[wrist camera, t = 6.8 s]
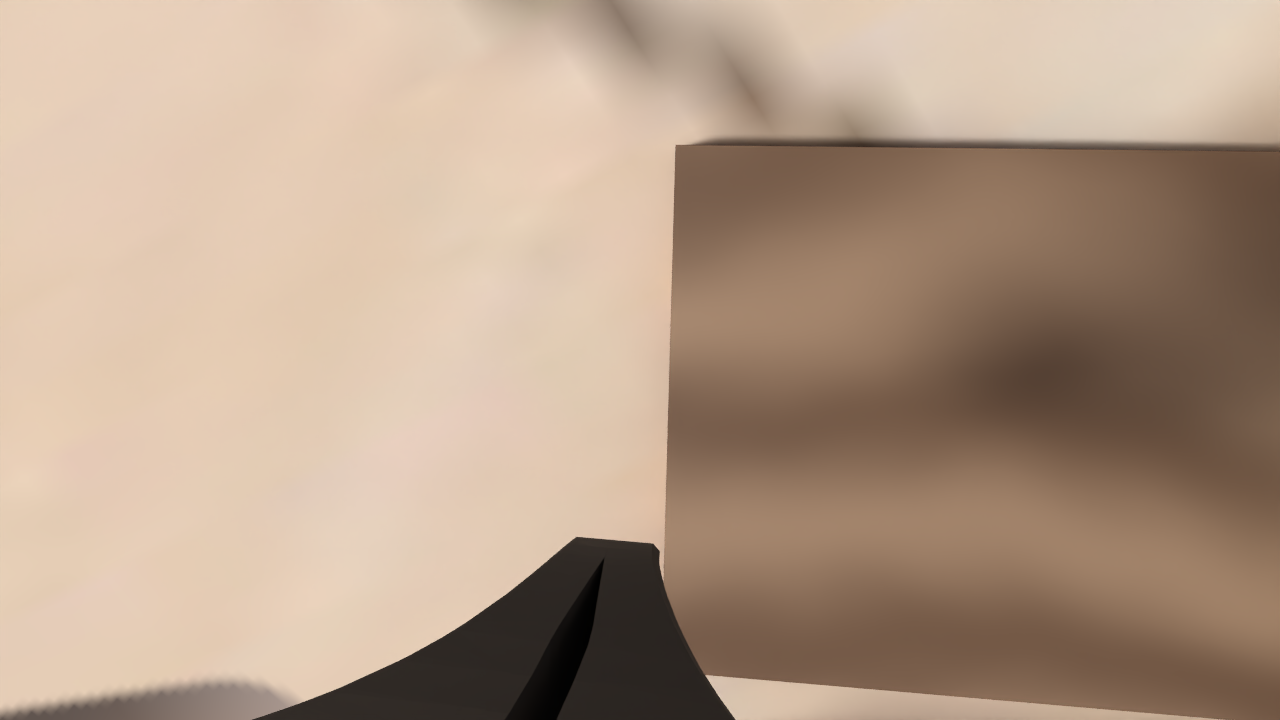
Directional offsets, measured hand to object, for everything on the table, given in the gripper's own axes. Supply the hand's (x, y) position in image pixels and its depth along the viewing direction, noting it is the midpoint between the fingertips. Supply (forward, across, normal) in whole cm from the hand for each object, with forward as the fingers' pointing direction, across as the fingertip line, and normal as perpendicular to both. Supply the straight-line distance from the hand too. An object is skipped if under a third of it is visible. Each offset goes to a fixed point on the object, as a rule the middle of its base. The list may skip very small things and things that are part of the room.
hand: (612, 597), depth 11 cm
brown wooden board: (+9, -11, 0) cm, 15 cm away
